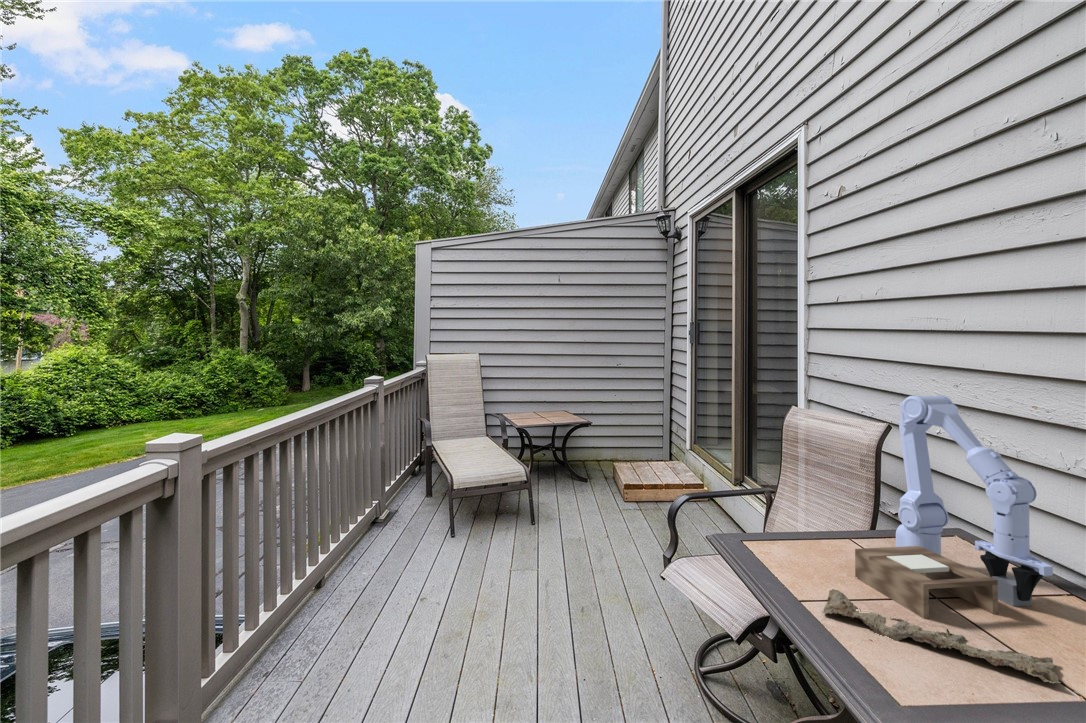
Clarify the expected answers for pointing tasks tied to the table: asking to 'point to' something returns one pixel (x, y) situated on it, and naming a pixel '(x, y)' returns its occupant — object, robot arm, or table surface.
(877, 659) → the table surface
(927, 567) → the trapdoor
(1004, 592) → the granite block
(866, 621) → the tree branch
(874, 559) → the box
